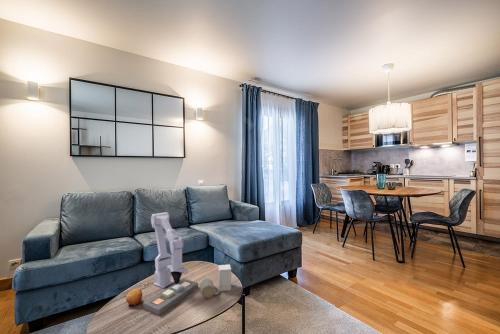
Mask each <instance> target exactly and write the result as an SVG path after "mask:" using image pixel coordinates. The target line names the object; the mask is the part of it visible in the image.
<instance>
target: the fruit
mask: <svg viewBox="0 0 500 334" xmlns="http://www.w3.org/2000/svg"><path fill="white" fill-rule="evenodd" d="M142 299H143V291H142V289H141V288H138V287H137V288H134V289H133V288H132V289H131V290H130V291H128V293H127V294H126V295H125V301H126V303H127V304H128V305H133V306H136V305H139V304H140V303H141V301H142Z"/></svg>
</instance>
